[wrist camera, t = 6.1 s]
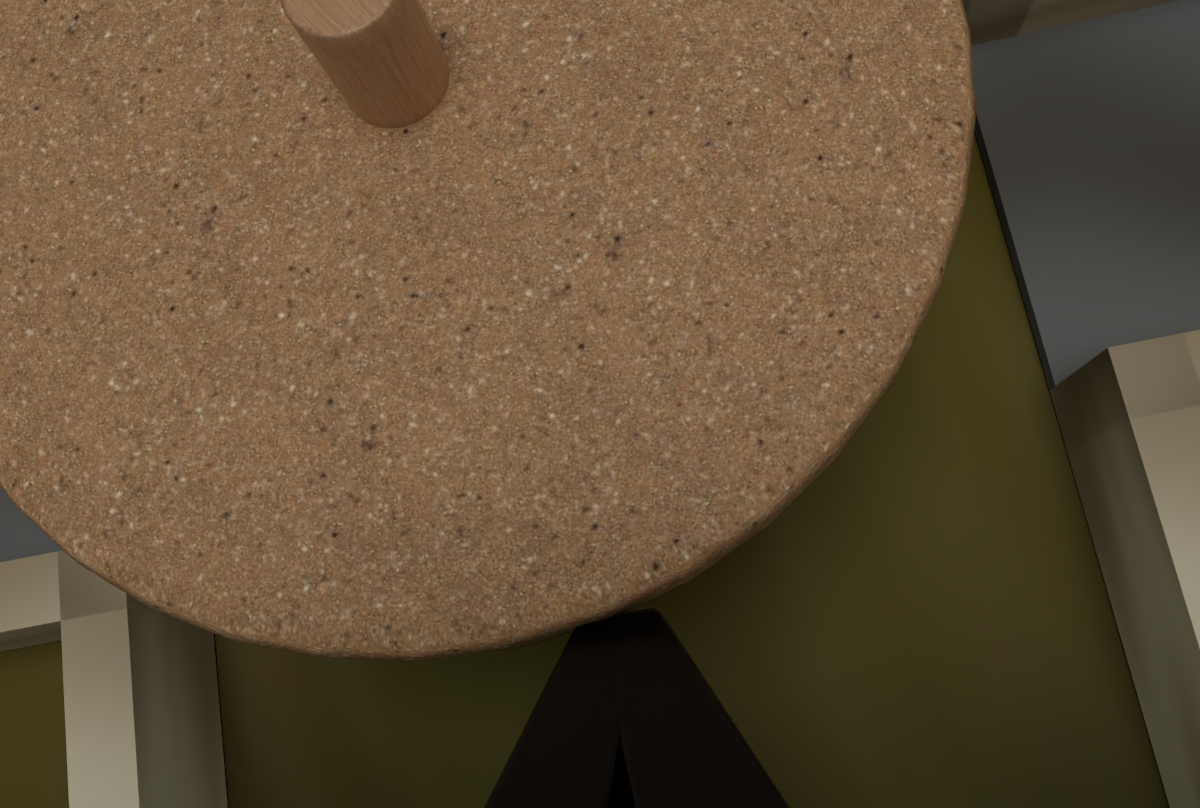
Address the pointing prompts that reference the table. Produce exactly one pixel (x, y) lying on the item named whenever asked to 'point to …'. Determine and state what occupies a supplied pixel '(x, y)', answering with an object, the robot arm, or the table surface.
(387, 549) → the lidded jar
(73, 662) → the trap lane
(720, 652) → the table surface
